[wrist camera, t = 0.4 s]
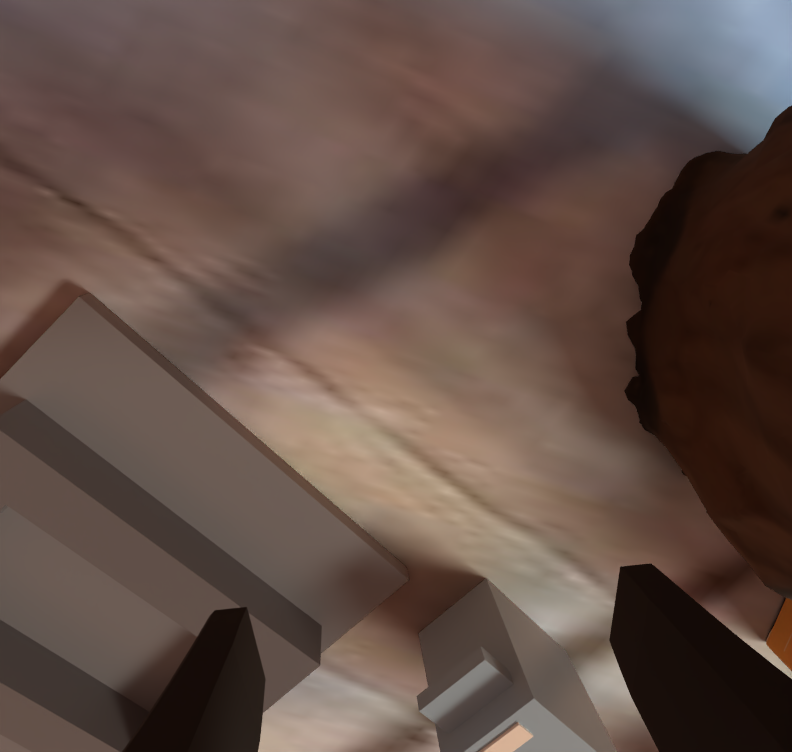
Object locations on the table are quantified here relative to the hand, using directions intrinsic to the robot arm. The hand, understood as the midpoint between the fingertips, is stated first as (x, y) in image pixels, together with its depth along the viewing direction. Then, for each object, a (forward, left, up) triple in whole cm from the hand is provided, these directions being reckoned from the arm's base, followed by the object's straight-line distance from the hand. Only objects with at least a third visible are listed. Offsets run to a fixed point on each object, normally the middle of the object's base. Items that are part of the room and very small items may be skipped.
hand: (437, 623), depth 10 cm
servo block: (-4, -12, -11) cm, 16 cm away
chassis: (-13, +2, -11) cm, 17 cm away
